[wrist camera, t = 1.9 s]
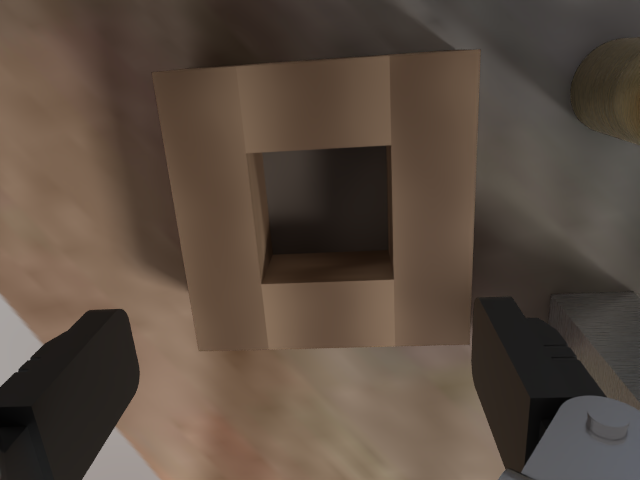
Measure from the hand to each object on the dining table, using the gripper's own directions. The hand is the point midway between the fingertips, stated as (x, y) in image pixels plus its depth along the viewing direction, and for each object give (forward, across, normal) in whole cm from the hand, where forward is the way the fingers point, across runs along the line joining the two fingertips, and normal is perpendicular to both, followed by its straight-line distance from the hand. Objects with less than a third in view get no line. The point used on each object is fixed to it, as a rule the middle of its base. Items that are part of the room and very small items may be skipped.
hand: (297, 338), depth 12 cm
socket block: (+14, 0, 0) cm, 14 cm away
